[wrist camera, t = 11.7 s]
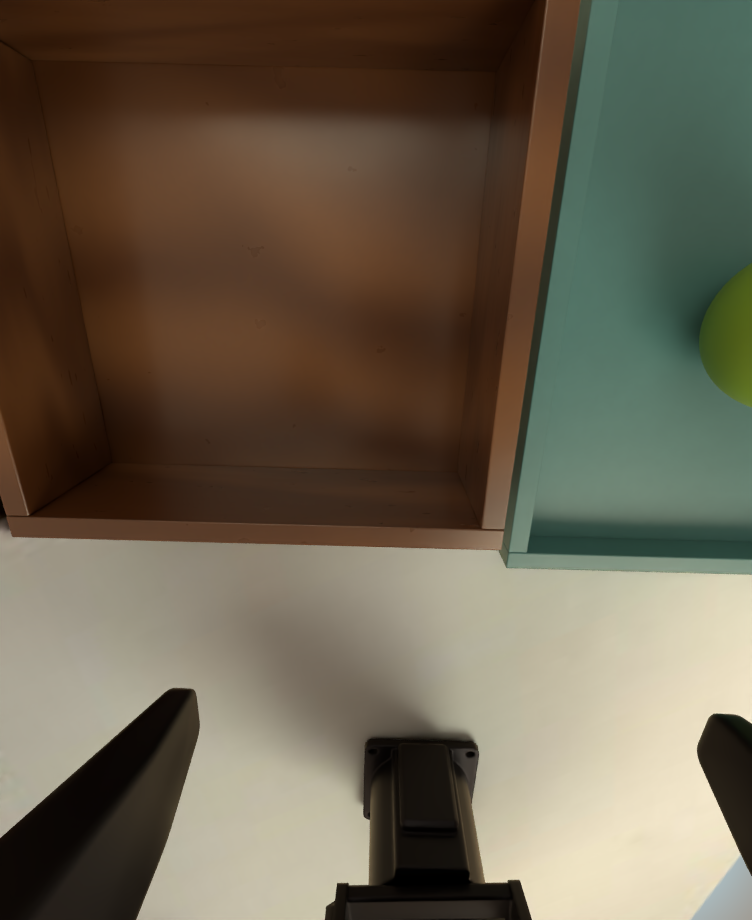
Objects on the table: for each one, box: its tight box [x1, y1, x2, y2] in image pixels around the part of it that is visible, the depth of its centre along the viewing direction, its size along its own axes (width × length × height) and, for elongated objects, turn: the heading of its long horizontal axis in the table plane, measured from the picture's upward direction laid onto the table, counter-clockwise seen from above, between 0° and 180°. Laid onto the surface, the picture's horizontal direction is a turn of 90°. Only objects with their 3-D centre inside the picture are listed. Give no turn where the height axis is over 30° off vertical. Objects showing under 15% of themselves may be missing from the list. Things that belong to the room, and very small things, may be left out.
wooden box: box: [0, 0, 581, 550], centre depth 15 cm, size 16×17×5 cm
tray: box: [499, 0, 752, 575], centre depth 17 cm, size 22×14×2 cm, turn 179°
